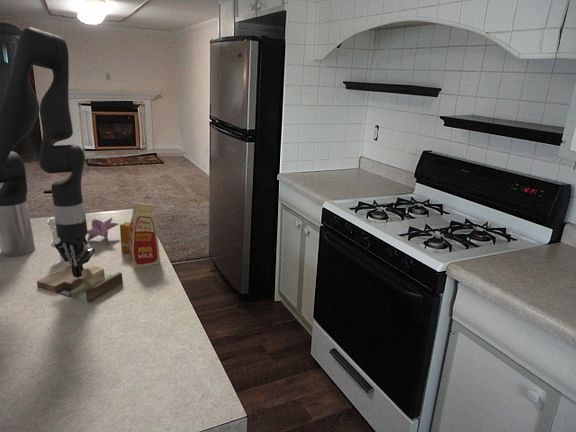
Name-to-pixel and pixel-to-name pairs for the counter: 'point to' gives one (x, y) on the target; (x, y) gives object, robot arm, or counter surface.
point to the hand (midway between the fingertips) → (78, 276)
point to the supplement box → (125, 237)
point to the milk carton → (143, 236)
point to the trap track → (78, 285)
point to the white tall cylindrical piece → (54, 233)
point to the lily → (100, 228)
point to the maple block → (93, 276)
